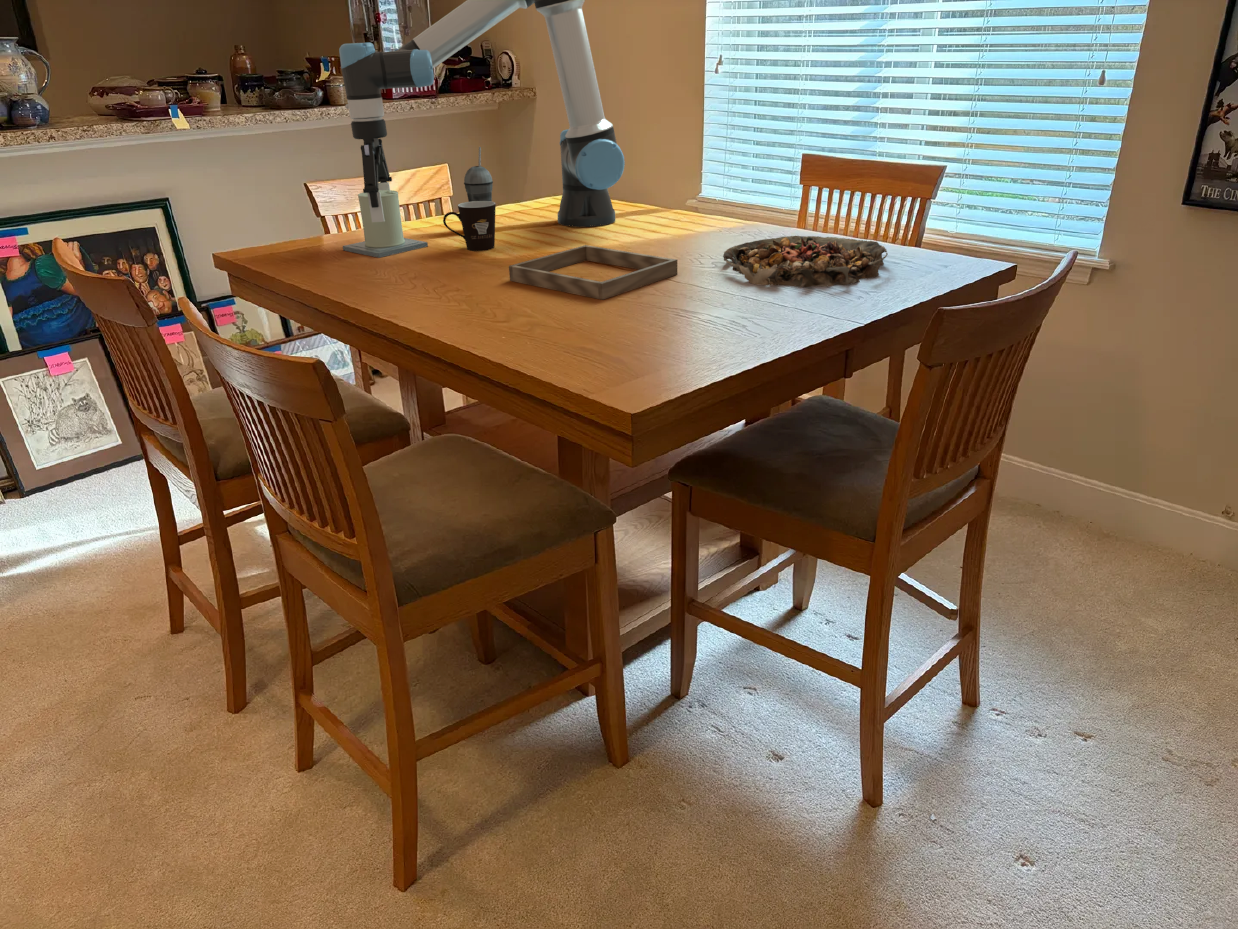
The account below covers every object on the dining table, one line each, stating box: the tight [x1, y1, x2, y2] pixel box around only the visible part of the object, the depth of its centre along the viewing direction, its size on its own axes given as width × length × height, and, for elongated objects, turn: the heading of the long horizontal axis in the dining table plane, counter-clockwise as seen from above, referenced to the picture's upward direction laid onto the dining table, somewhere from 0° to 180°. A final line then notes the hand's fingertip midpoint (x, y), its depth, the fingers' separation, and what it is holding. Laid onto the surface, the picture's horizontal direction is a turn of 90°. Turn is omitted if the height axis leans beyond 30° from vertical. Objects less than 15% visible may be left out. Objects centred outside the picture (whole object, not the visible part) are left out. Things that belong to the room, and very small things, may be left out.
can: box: [357, 189, 405, 248], centre depth 210 cm, size 9×9×12 cm
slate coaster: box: [342, 237, 428, 259], centre depth 213 cm, size 14×14×1 cm
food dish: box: [722, 235, 888, 289], centre depth 184 cm, size 35×33×8 cm
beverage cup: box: [463, 146, 494, 202], centre depth 226 cm, size 7×7×20 cm
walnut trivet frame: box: [508, 244, 678, 300], centre depth 182 cm, size 25×23×3 cm
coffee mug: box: [442, 201, 496, 252], centre depth 208 cm, size 12×9×10 cm
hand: (383, 216), depth 210 cm, fingers open, 13 cm apart
